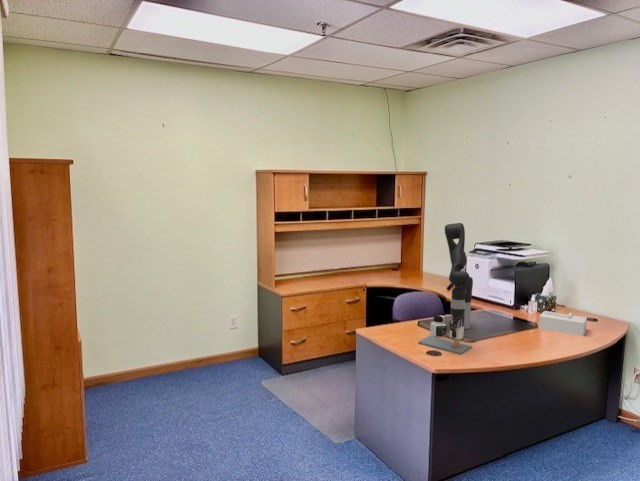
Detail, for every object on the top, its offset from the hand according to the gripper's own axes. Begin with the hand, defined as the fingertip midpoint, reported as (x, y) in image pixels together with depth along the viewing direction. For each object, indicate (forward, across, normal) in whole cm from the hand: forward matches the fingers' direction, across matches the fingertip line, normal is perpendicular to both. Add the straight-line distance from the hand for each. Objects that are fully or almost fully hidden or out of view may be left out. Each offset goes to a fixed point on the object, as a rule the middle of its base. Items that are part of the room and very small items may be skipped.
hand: (456, 336), depth 266 cm
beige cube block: (0, 0, 0) cm, 0 cm away
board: (+7, 0, -7) cm, 10 cm away
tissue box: (+7, -79, +34) cm, 86 cm away
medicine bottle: (+7, -15, -19) cm, 25 cm away
